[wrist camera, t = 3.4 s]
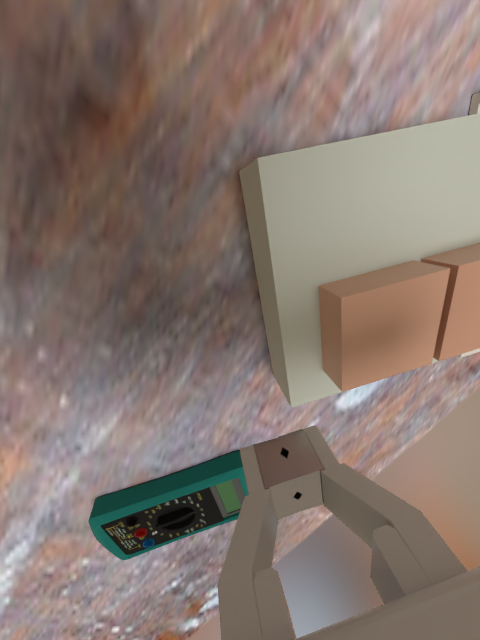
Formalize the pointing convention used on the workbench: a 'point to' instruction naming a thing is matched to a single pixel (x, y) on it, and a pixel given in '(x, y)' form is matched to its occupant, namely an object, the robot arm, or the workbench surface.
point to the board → (352, 226)
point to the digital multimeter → (170, 507)
